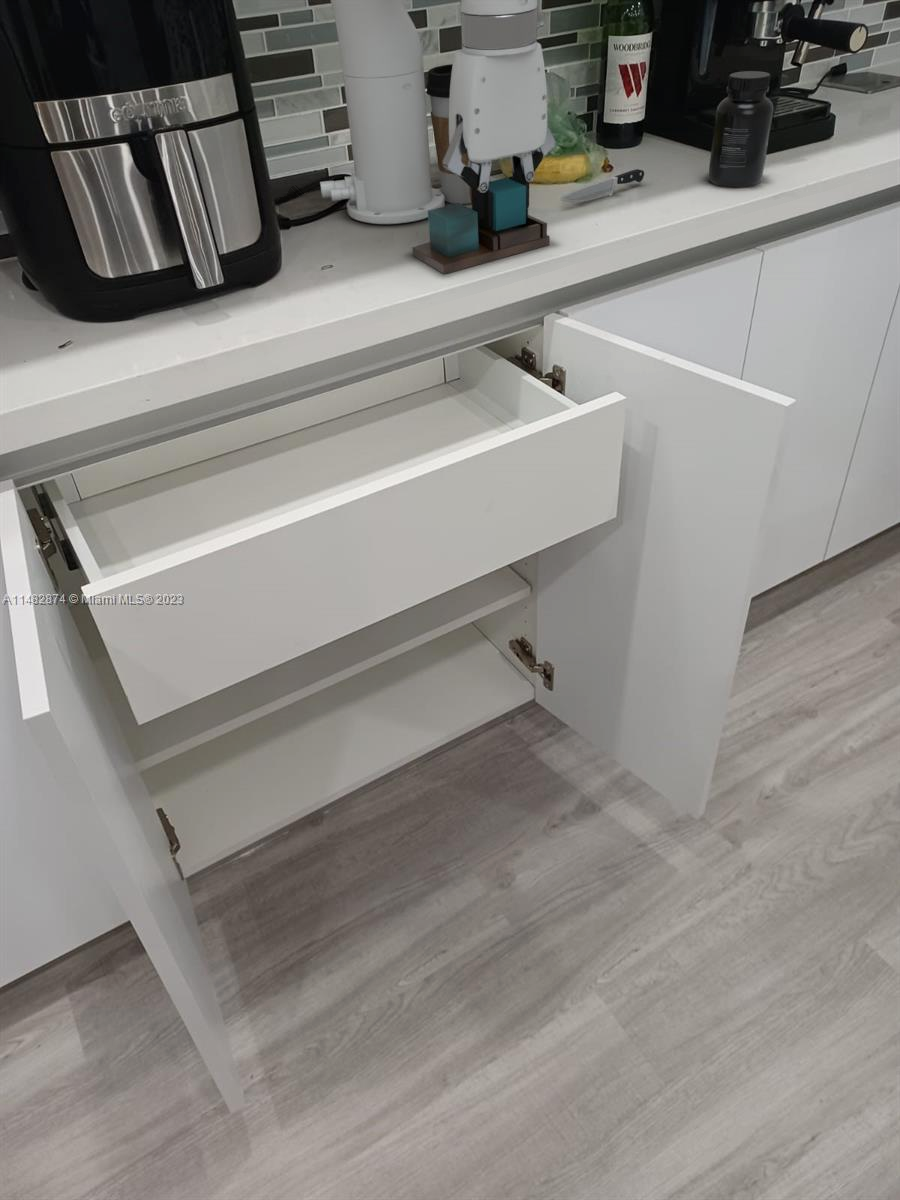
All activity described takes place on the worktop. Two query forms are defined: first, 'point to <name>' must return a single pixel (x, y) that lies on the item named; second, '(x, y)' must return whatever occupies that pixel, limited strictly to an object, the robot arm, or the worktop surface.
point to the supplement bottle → (741, 131)
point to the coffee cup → (445, 133)
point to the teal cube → (508, 203)
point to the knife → (602, 187)
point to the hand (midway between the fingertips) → (500, 219)
